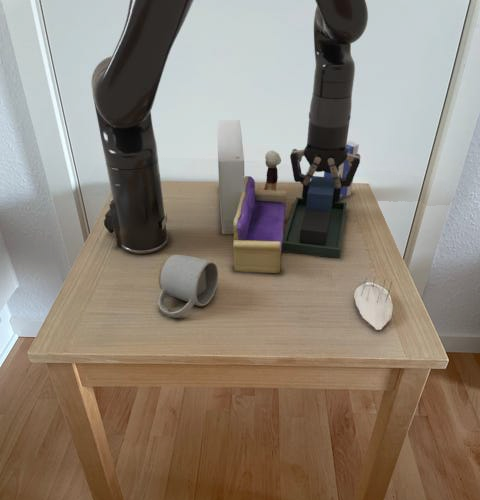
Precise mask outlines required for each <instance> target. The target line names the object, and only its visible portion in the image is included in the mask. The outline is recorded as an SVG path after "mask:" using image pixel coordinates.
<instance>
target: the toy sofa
mask: <svg viewBox="0 0 480 500" xmlns="http://www.w3.org/2000/svg"><path fill="white" fill-rule="evenodd" d="M244 177H245V192H242V194H241V198H240V202H239V206H238V210H237V214H236V217H235V218H234V224H233V225H234V234H233V239H234V240H233V243H232V244H233V246H232V247H233V258H234V259H233V261H234V271H235V272H245V273H261V274H262V273H265V274H267V273H268V274H279V273H281V272H280V270H281V256H282V242H283V238H284V228H285V220H286V219H285V218H286V203H287V202H286V201H287V190H276V191H275V190H264V189H256V182H255V179H254V178H253V177H252V176H250V175H249V176H248V175H244Z"/></svg>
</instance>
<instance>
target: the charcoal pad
mask: <svg viewBox="0 0 480 500" xmlns="http://www.w3.org/2000/svg"><path fill="white" fill-rule="evenodd" d="M329 220H330V212H323V211H314V210H306V211H305V215H304V219H303V222H302V226H301V231H300V242H299V243H303V244H311V245H319V246H325V245H326V239H327V234H328V228H329Z"/></svg>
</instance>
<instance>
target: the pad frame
mask: <svg viewBox="0 0 480 500" xmlns="http://www.w3.org/2000/svg"><path fill="white" fill-rule="evenodd" d="M306 204H307V202H305V199H303V198H302V197H298V196H296V197H295V199H294V203H293V206H292V209H291V212H290V216H289V218H288V221H287V225H286V228H285V231H284V234H283V242H282V249H281V252H285V253H293V254H302V255H308V256H309V255H310V256H317V257H325V258H333V259H340V254H341V249H342V242H343V233H344V228H345V227H344V226H345V219H346V213H347V205H348V202H346V201H338V202H336V203H335V205H332V208H331V213H330V220H329V228H328V234H327V239H326V245H325V246H319V245H311V244H303V243H299V242H300V231H301V226H302V222H303V219H304V215H305V211H306Z"/></svg>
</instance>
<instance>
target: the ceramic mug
mask: <svg viewBox="0 0 480 500" xmlns="http://www.w3.org/2000/svg"><path fill="white" fill-rule="evenodd" d="M218 281H219V269H218V266H217V264H216V263H215V261H213V260H210V259H209V260H208V259H203V258H199V257H194V256H188V255H183V254H171V255H168V257H166V258H165V260H164V261H163V262H162V264H161V266H160V268H159V271H158V284H159V288H160V289H161V292H160V293H159V296H158V300H157V303H158V307H159V309H160V311H161V312H162V313H163V315H165V316H167V317H169V318H171V319H172V318H173V319H175V318H180V317H183V316H185V315H186V314H187V313H189V312H190V310H191V309H193V307H194V306H198V307H204V306H206V305H208V304H209V303H210V302H211V300H212V299H213V297H214V295H215V293H216V291H217V287H218ZM167 296H169V297H173V298H176V299H179V300H182V301H184V302H186V304H185V305H184V306H183V307H182V308H180V309H179V310H176V311H172V312H171V311H169V310H168V308H167V307H165V306H164V302H165V299H166V297H167Z"/></svg>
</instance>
